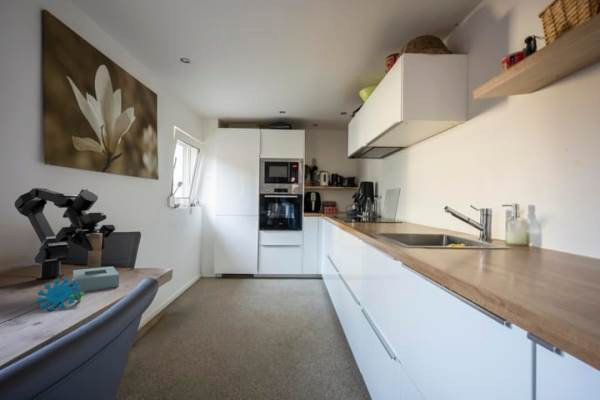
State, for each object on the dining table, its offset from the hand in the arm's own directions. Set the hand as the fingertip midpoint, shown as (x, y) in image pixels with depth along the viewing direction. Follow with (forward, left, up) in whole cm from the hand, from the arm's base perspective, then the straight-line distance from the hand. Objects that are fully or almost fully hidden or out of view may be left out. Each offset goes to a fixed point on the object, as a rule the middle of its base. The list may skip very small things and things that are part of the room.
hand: (97, 249), depth 103 cm
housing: (-2, -1, -13) cm, 14 cm away
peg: (-1, -1, -7) cm, 7 cm away
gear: (+22, -1, -14) cm, 26 cm away
